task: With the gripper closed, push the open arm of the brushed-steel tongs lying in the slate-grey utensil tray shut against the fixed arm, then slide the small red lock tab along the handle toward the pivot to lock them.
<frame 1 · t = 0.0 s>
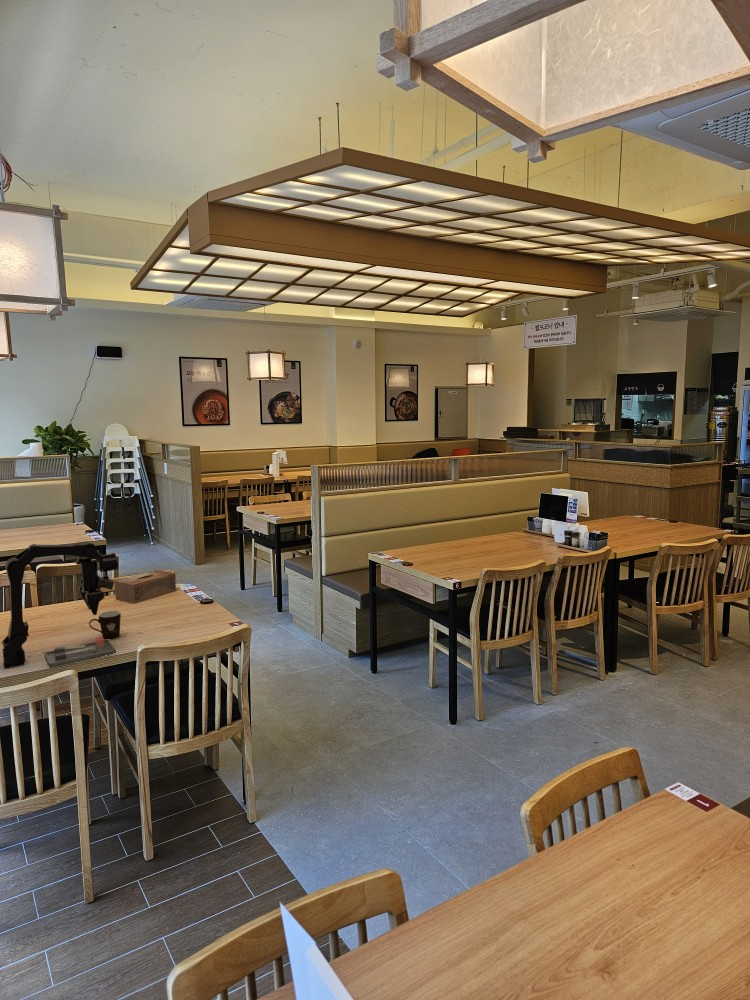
hand: (92, 612, 247), 15 cm above the table, fingers open, 9 cm apart
tongs fixed body: (91, 652, 243), resting on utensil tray
tissue box cover: (146, 596, 321), on the table
coffee mug: (107, 637, 260), on the table
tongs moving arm: (70, 649, 241), point 2 cm above the table, hinge at 22.0°
lock tab: (99, 641, 243), point 4 cm above the table, slide at 0.0 cm
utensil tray: (80, 655, 241), on the table
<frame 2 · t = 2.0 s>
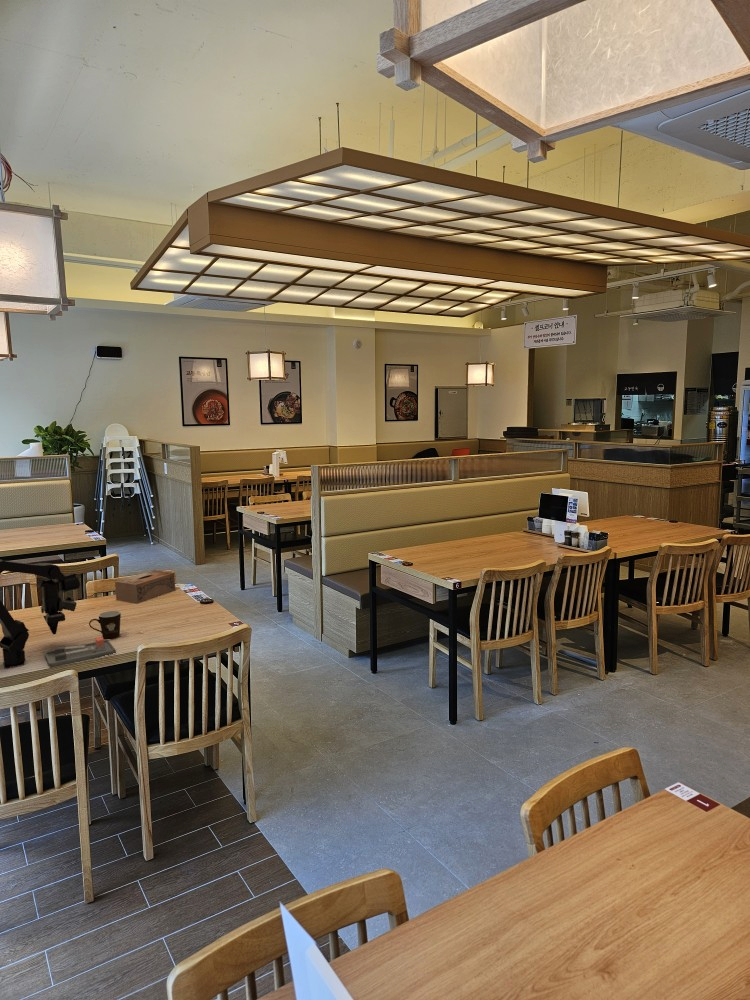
hand: (54, 634, 244), 7 cm above the table, fingers closed
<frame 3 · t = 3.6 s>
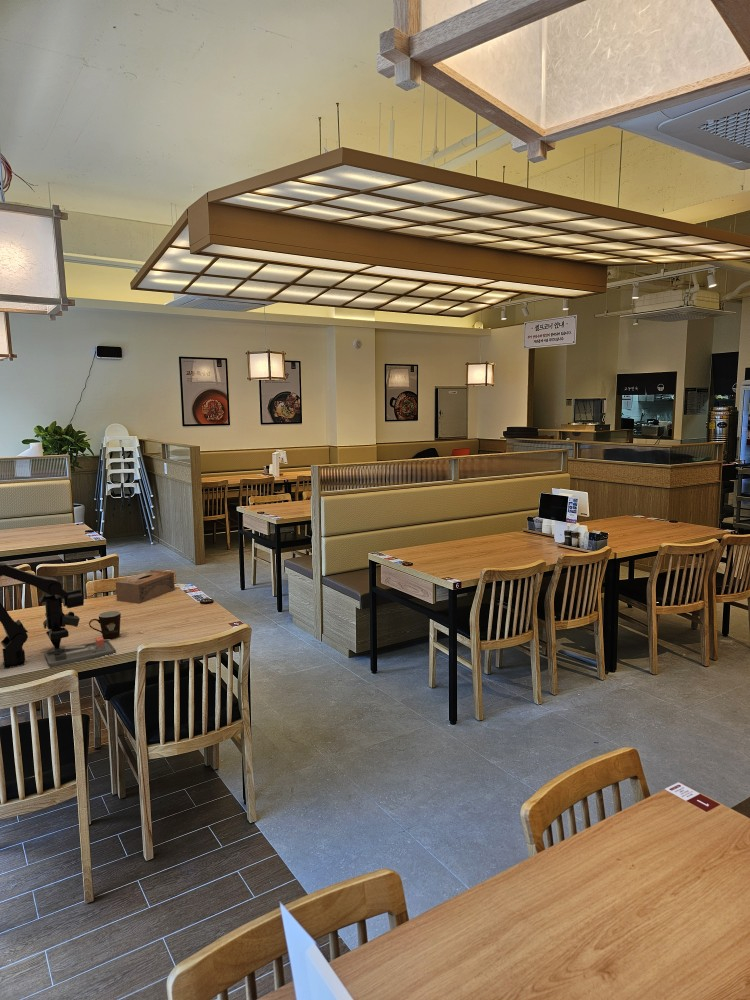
hand: (57, 649, 242), 2 cm above the table, fingers closed
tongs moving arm: (70, 649, 241), point 2 cm above the table, hinge at 21.7°, touching gripper
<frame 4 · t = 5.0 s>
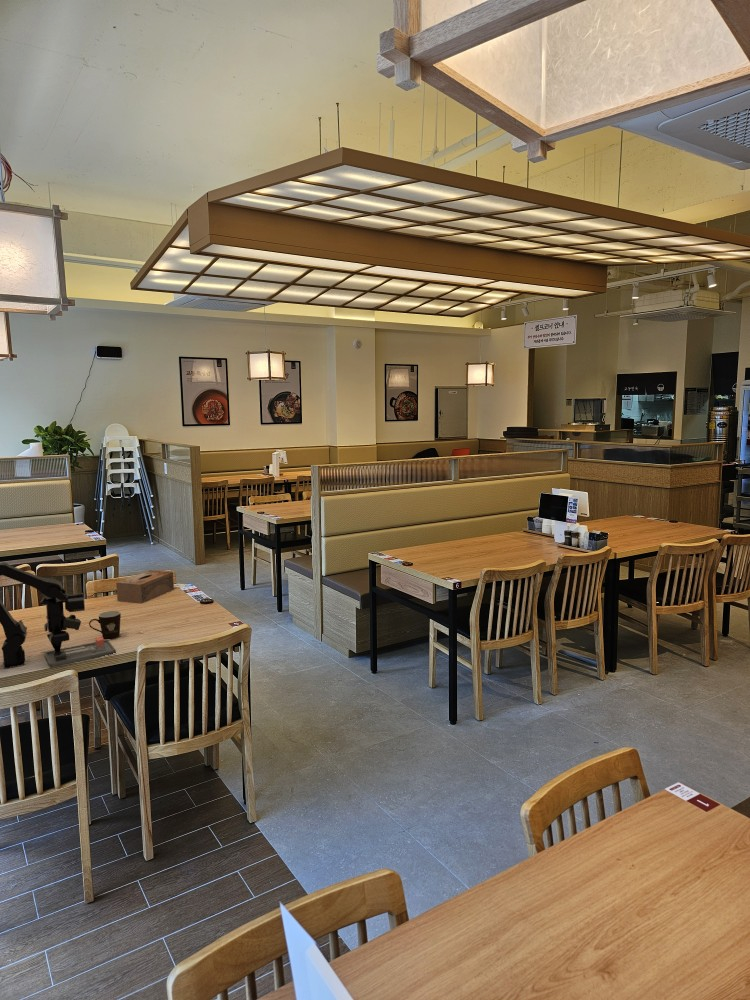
hand: (57, 653, 239), 2 cm above the table, fingers closed
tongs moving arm: (69, 652, 239), point 2 cm above the table, hinge at 3.2°, touching gripper
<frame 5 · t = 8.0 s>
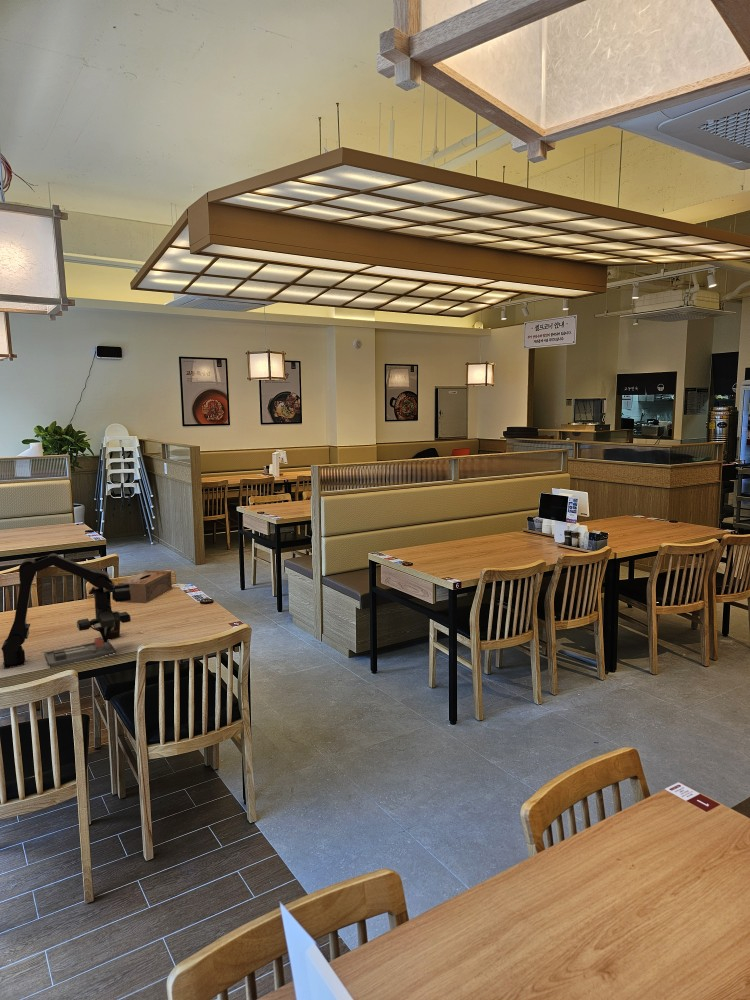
hand: (105, 642, 244), 4 cm above the table, fingers closed
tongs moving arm: (69, 652, 239), point 2 cm above the table, hinge at 3.2°
lock tab: (98, 642, 243), point 4 cm above the table, slide at 0.4 cm, touching gripper
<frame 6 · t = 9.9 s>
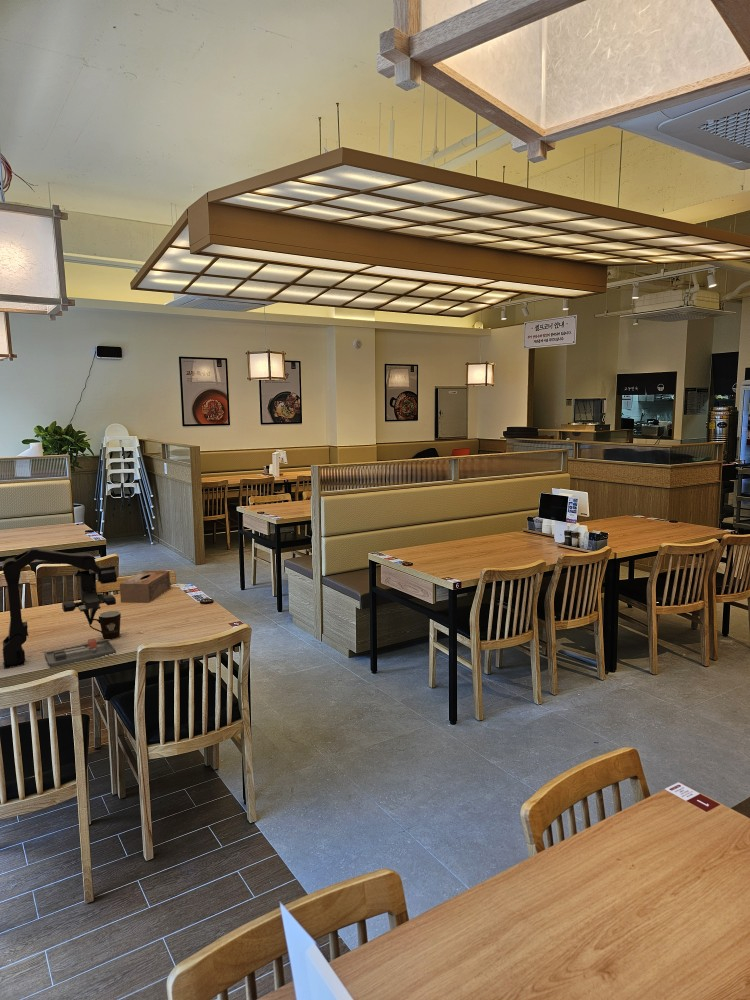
hand: (90, 624, 245), 10 cm above the table, fingers closed
lock tab: (92, 643, 242), point 4 cm above the table, slide at 2.7 cm
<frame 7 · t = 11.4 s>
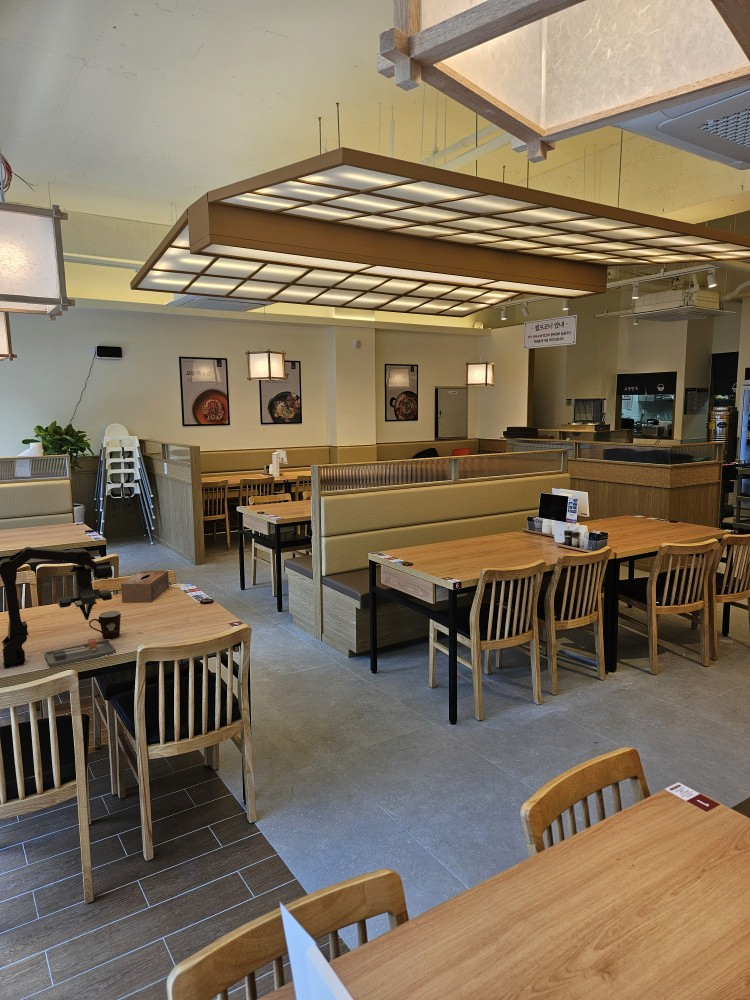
hand: (86, 619, 246), 12 cm above the table, fingers closed
at the end: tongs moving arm at +3° (first picture: +22°); lock tab slide at 2.7 cm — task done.
